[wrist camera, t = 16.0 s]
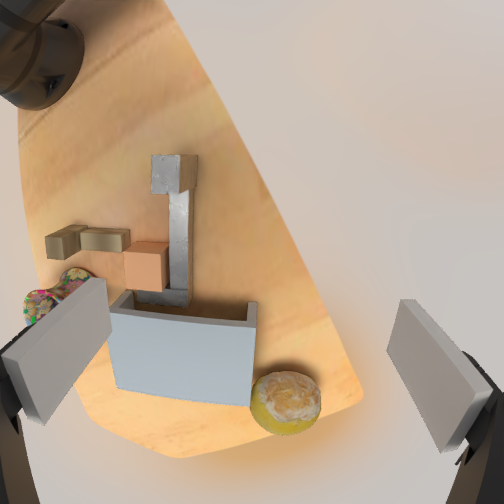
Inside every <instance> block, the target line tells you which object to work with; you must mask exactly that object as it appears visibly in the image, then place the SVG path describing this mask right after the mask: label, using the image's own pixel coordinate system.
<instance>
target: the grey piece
mask: <svg viewBox="0 0 504 504" xmlns="http://www.w3.org/2000/svg"><path fill="white" fill-rule="evenodd" d="M197 158H198V155H152V169H151V194H170V195H169V258H170V281H169V283H168V284H167V286H166V287H165V288H164V290H163V291H162V292H155V291H145V290H137V295H138V302H139V303H148V304H157V305H166V306H176V307H186V308H188V306H189V303H190V301H191V299H192V297H193V203H194V187H195V186H196V181H197Z"/></svg>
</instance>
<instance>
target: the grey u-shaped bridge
mask: <svg viewBox="0 0 504 504" xmlns="http://www.w3.org/2000/svg"><path fill="white" fill-rule="evenodd" d="M109 311H110V318H111V325H112V333H111V335H110V336H109V337H108V338H107V342H108V347H109V352H110V357H111V362H112V367H113V372H114V377H115V381H116V385H117V388H118V389H122V390H127V391H132V392H138V393H143V394H149V395H154V396H160V397H167V398H173V399H180V400H188V401H195V402H204V403H213V404H223V405H235V406H248V407H250V398H251V386H252V374H253V362H254V350H255V338H256V324H257V322H256V319H257V302H248V313H247V321H237V320H225V319H213V318H202V317H192V316H182V315H172V314H163V313H155V312H146V311H138V310H135V307H134V297H133V291H128V290H125V292H124V293H123V294H122V295H121V296H120V297H119V298H118V299H117V300H116V301H115V302H114V303H113V305H112V306H111V307H109Z"/></svg>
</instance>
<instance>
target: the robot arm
mask: <svg viewBox="0 0 504 504" xmlns="http://www.w3.org/2000/svg"><path fill="white" fill-rule="evenodd" d="M64 1H65V0H0V95H1V96H2V97H4V98H5V99H7V100H8V101H9V102H11V103H12V104H14V105H15V106H16V107H19V108H21V109H26V110H40V109H44V108H46V107H48V106H50V105H52V104H53V103H55V102H56V101H57V100H59V99H60V98H61V97H62V96H63V95H64V94H65V92H66V91H67V90H68V89H69V87H70V86H71V85H72V83H73V81H74V80H75V78H76V76H77V74H78V72H79V69H80V66H81V63H82V59H83V54H84V41H83V37H82V34H81V32H80V30H79V29H78V28H77V27H76V26H75V25H74V24H72V23H70V22H68V21H67V20H64V19H61V18H47V17H49V16H50V15H51V14H52V13H53V12H54V11H55V10H56V9H57V8H58V7H59V6H60V5H61V4H62V3H63V2H64ZM111 333H112V325H111V318H110V311H109V304H108V296H107V287H106V279H102V278H94V277H91V278H90V279H89V280H87V281H86V282H85V283H84V284H82V285H81V286H80V287H79V288H77V289H76V290H75V291H74V292H73V293H71V294H70V295H69V296H68V297H66V298H65V299H64V300H63V301H62V302H61V303H59V304H58V305H57V306H56V307H55V308H53V309H52V310H51V311H50V312H49V313H48V314H46V315H45V316H44V317H43V318H42V319H41V320H39V321H38V322H36V323H34V324H32V325H29V326H27V327H26V328H24V329H23V330H22V331H21V332H20V333H19V334H18V336H15V337H14V338H13V339H12V341H10V342H9V343H7V344H6V345H5V346H4V347H3V348H2V349H1V350H0V504H40V502H39V498H38V495H37V492H36V488H35V485H34V481H33V477H32V474H31V469H30V466H29V461H28V457H27V452H26V447H25V442H24V437H23V431H22V425H21V420H20V418H19V415H18V412H19V411H20V409H21V408H23V410H24V412H25V414H26V416H27V418H28V419H29V420H31V421H34V422H36V423H39V424H41V425H43V426H45V424H46V423H47V421H48V420H49V418H50V417H51V415H52V414H53V413H54V411H55V410H56V408H57V407H58V405H59V404H60V403H61V401H62V400H63V398H64V397H65V395H66V394H67V392H68V391H69V390H70V388H71V387H72V386H73V384H74V383H75V381H76V380H77V379H78V377H79V376H80V375H81V373H82V372H83V370H84V369H85V368H86V366H87V365H88V364H89V362H90V361H91V360H92V358H93V357H94V356H95V354H96V353H97V352H98V350H99V349H100V348H101V346H102V345H103V344H104V342H105V341H106V340H107V338H108V337H109V336H110V335H111ZM387 353H388V355H389V356H390V358H391V360H392V362H393V364H394V365H395V367H396V369H397V371H398V373H399V374H400V376H401V378H402V380H403V382H404V384H405V386H406V387H407V389H408V391H409V393H410V395H411V397H412V399H413V401H414V402H415V404H416V406H417V408H418V410H419V412H420V414H421V416H422V418H423V420H424V422H425V423H426V426H427V428H428V430H429V431H430V434H431V436H432V438H433V440H434V442H435V444H436V446H437V448H438V450H439V452H440V453H445V452H448V451H452V450H456V449H458V447H459V446H460V444H461V443H462V441H463V440H464V438H466V440H467V441H468V443H469V445H468V446H467V448H466V449H465V451H464V452H463V454H462V455H461V456H460V457H459V459H458V460H457V462H456V463H455V465H458V464H459V462H460V461H461V464H460V467H459V470H458V473H457V475H456V478H455V481H454V484H453V486H452V489H451V491H450V494H449V496H448V499H447V501H446V504H504V392H503V393H502V392H501V390H500V389H499V388H498V387H497V385H496V384H495V383H494V382H493V381H492V379H491V378H490V377H489V376H488V375H487V373H485V371H484V370H483V369H482V367H480V365H479V364H478V363H477V361H476V360H475V359H474V358H473V357H472V356H470V355H469V354H467V353H466V352H464V351H461V350H460V349H459V348H458V347H457V346H456V344H455V343H454V342H453V341H452V340H451V339H450V337H449V336H448V335H447V334H446V333H445V332H444V331H443V330H442V329H441V327H440V326H439V325H438V324H437V323H436V322H435V321H434V320H433V318H432V317H431V316H430V315H429V314H428V313H427V312H426V311H425V310H424V309H423V308H422V307H421V306H420V304H419V303H418V302H417V301H416V300H408V299H401V300H400V304H399V308H398V312H397V316H396V319H395V324H394V327H393V330H392V334H391V337H390V341H389V344H388V347H387Z"/></svg>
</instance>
